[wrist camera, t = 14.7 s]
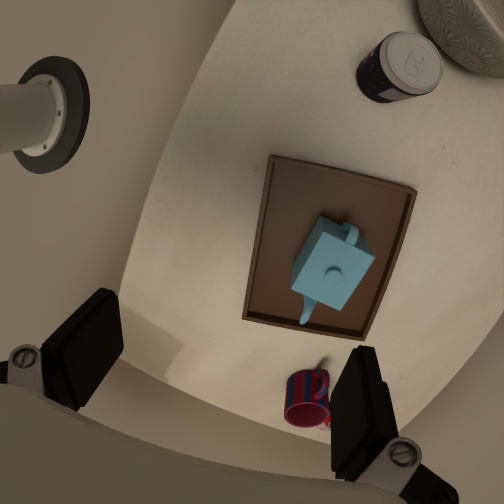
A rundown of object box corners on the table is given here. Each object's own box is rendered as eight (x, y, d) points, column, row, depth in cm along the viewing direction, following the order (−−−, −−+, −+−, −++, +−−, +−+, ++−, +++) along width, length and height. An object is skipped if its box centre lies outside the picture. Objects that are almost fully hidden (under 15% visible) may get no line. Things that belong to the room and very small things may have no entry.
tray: (244, 311, 42) (241, 319, 40) (270, 154, 33) (268, 155, 31) (362, 332, 41) (364, 341, 39) (412, 187, 32) (417, 191, 30)
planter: (379, -31, 21) (414, -95, 7) (482, -20, 17) (537, -54, 3) (424, 89, 27) (496, 73, 13) (520, 88, 23) (595, 88, 9)
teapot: (322, 303, 39) (324, 339, 32) (280, 284, 39) (275, 318, 32) (369, 224, 34) (385, 249, 27) (325, 201, 34) (331, 221, 27)
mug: (279, 388, 47) (275, 419, 41) (311, 350, 43) (311, 383, 37) (313, 400, 47) (313, 431, 41) (347, 365, 43) (351, 397, 37)
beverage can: (408, 72, 27) (455, 52, 16) (392, 112, 29) (435, 107, 18) (364, 49, 27) (394, 15, 16) (347, 89, 29) (372, 70, 18)
